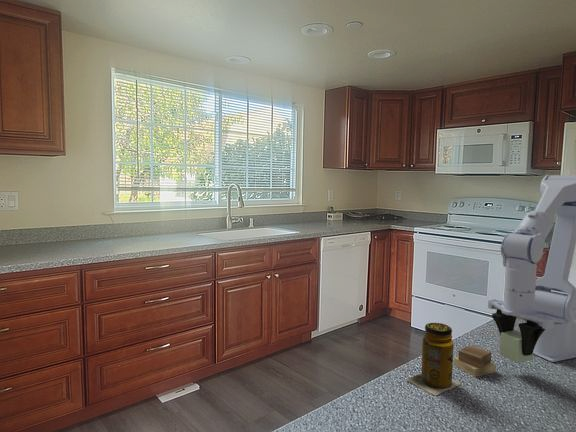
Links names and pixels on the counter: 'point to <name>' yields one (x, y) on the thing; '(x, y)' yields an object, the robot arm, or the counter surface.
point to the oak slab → (475, 368)
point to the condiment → (436, 360)
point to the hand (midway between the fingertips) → (516, 349)
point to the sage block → (513, 346)
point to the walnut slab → (474, 356)
